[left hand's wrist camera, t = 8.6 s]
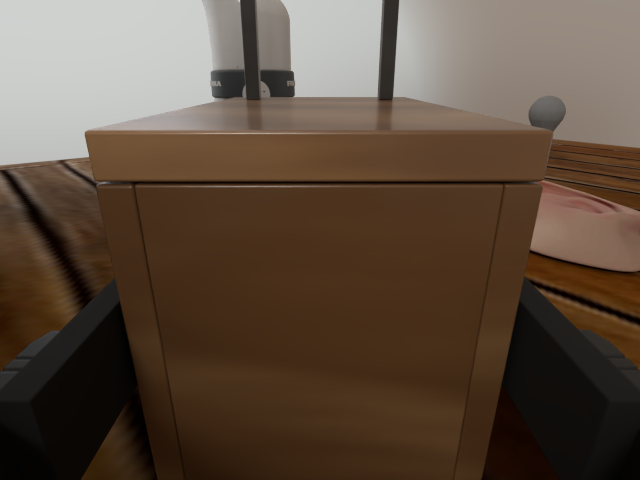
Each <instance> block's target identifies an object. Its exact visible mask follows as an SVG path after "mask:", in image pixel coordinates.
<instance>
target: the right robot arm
mask: <svg viewBox="0 0 640 480" xmlns="http://www.w3.org/2000/svg"><path fill="white" fill-rule="evenodd" d="M202 1H203V4H204V8H205V11H206V16H207V22H208V28H209V35H210V42H211V50H212V60H213V70H218V71H212V72H211V86H212V96H213V97H215V100H214V102H216V101H221V100H225V99H230V98H234V97H246V87H245V71H244V56H243V40H242V25H241V9H240V0H202ZM257 20H258V39H259V59H260V79H261V97H294V95H295V91H294V86H295V81H294V73H293V71H290V70H291V56H290V19H289V15H288V12H287V10H286V8H285V6H284V5H283V3H282V2H281V1H280V0H257Z"/></svg>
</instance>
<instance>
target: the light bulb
mask: <svg viewBox="0 0 640 480" xmlns="http://www.w3.org/2000/svg"><path fill="white" fill-rule="evenodd" d="M565 112H566V109H565V105H564V103H563V102H562V101H561V100H560V99H559V98H557V97H554V96H545V97H542V98H540V99H538V100H537V101H536V102H535V103H534V104H533V105H532V106H531V108H530V110H529V120H530V123H531V125H532V126H534V127H539V128H543V129H548V130H551V131H554V130H555V129H556V127H557V126H558V125H559V124H560V122H561V121H562V120H563V118H564V116H565Z"/></svg>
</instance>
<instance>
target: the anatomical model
mask: <svg viewBox="0 0 640 480" xmlns="http://www.w3.org/2000/svg"><path fill="white" fill-rule="evenodd" d="M537 183H539V184H541V185H543V190H542V194H541V199H540V204H539V209H538V213H537V218H536V223H535V228H534V232H533V237H532V242H531V247H530V250H531V251H534V252H537V253H540V254H543V255H546V256H550V257H553V258H557V259H561V260H565V261H569V262H573V263H578V264H582V265H587V266H592V267H597V268H602V269H608V270H614V271H622V272H636V271H640V234H639V232H640V211H637V210H634V209H631V208H628V207H625V206H622V205H619V204H616V203H613V202H610V201H607V200H605V199H602V198H599V197H596V196H593V195H590V194H587V193H584V192H581V191H578V190H574V189H571V188H567V187H564V186H561V185H557V184H554V183H551V182H547V181H540V182H537Z"/></svg>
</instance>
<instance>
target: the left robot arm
mask: <svg viewBox="0 0 640 480" xmlns="http://www.w3.org/2000/svg"><path fill="white" fill-rule="evenodd" d="M624 356H625V355H623V354H622V353H621V352H620V351H619V350H618V349H617V348H616V347H615V346H614V345H613V344H611V343H610V342H609V341H607V340H606V339H604V338H602V337H600V336H599V335H597V334H595V333H593V332H592V331H590V330H578V329H577V328H576V327H575V326H574V325H573V324H572V323H571V322H570V321H569V320H568V319H567V318H566V317H565V316H564V315H563V314H562V313H561V312H560V311H559V310H558V309H557V308H556V307H555V306H554V305H553V304H551V303H550V302H549V301H548V300H547V299H546V298H545V297H544V296H543V295H542V294H541V293H540V292H539V291H538V290H537V289H536V288H535V287H534V286H533V285H532V284H531V283H530V282H529V281H528V280H527V279H526V278H525V277H524V280H523V285H522V289H521V294H520V299H519V304H518V308H517V313H516V318H515V323H514V327H513V332H512V337H511V342H510V346H509V351H508V356H507V361H506V365H505V370H504V375H503V380H502V384H503V386H504V387H505V389H506V391H507V392H508V394H509V396H510V397H511V399H512V401H513V402H514V404H515V406H516V407H517V409H518V411H519V413H520V414H521V416H522V418H523V419H524V421H525V423H526V424H527V426H528V428H529V429H530V431H531V433H532V434H533V436H534V438H535V439H536V441H537V443H538V444H539V446H540V448H541V449H542V451H543V453H544V454H545V456H546V458H547V460H548V461H549V463H550V465H551V466H552V468H553V470H554V471H555V473H556V475H557V476H558V478H559V480H640V370H638V369H637V366H636V365H634V364H633V363H632V362H631V361H630V360H629V359H628V358H625V357H624ZM136 386H137V379H136V375H135V370H134V365H133V360H132V356H131V351H130V346H129V342H128V337H127V332H126V327H125V323H124V318H123V313H122V308H121V304H120V299H119V294H118V290H117V285H116V280H115V278H114V279H113V280H112V281H111V282H110V283H109V284H108V285H107V286H106V287H105V288H104V289H103V290H102V291H101V292H100V293H99V294H98V295H97V296H96V297H95V298H94V299H93V300H92V301H91V302H90V303H89V304H88V305H86V306H85V307H84V308H83V309H82V310H81V311H80V312H79V313H78V314H77V315H76V316H75V317H74V318H73V319H72V320H71V321H70V322H69V323H68V324H67V325H66V326H65V327H64V328H63V329H62V330H61V331H51V332H49V333H48V334H46V335H44V336H42V337H41V338H39V339H37V340H35V341H34V342H32V343H31V344H29V345H28V346H27V347H26V348H25V349H24V350H23V351H22V352H21V353H20V354H19V355H17V356H16V359H15V360H12V361H11V362H10V363H9V364H8V365H7V366H5V367H4V368H3V372H0V480H81V478H82V476H83V475H84V473H85V471H86V470H87V468H88V466H89V465H90V463H91V461H92V460H93V458H94V456H95V454H96V453H97V451H98V449H99V448H100V446H101V444H102V443H103V441H104V439H105V438H106V436H107V434H108V433H109V431H110V429H111V428H112V426H113V424H114V423H115V421H116V419H117V418H118V416H119V414H120V413H121V411H122V409H123V407H124V406H125V404H126V402H127V401H128V399H129V397H130V396H131V394H132V392H133V391H134V389H135V387H136Z"/></svg>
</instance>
